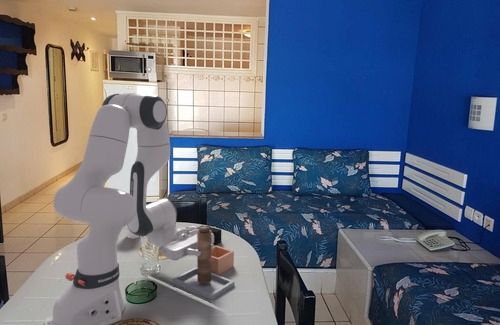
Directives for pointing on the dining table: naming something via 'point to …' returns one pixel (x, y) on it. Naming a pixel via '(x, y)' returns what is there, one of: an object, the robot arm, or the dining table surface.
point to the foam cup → (130, 233)
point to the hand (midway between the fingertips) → (206, 250)
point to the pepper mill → (204, 255)
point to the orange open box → (221, 260)
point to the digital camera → (215, 235)
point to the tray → (205, 290)
